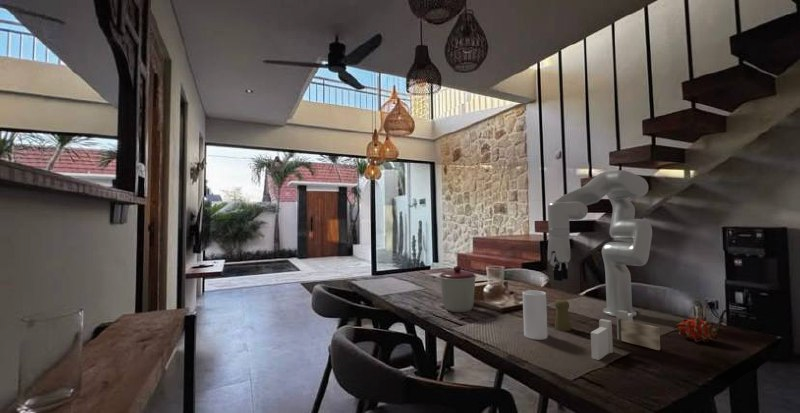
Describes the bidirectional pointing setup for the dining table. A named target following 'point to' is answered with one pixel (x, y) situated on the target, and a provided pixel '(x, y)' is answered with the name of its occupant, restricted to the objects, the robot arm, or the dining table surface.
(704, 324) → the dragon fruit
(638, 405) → the dining table surface
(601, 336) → the wall frame
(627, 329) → the gate
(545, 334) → the cup
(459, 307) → the canister
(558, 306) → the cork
